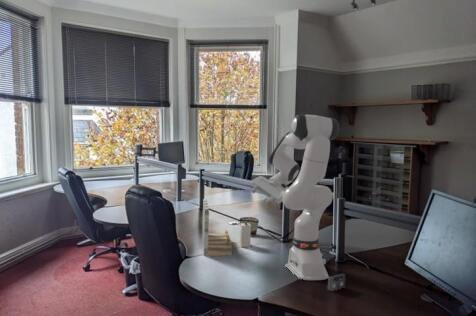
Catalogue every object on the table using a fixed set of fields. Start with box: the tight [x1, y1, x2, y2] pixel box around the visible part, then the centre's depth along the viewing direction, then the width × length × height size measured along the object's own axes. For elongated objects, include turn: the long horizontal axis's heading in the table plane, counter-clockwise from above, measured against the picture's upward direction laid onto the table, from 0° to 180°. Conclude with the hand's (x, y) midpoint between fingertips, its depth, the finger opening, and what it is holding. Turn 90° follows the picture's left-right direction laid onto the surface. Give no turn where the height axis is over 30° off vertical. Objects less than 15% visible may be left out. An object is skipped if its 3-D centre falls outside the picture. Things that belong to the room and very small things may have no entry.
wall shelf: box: [202, 198, 233, 257], centre depth 197 cm, size 24×14×24 cm, turn 7°
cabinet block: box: [239, 221, 252, 248], centre depth 202 cm, size 5×5×14 cm
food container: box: [238, 216, 260, 237], centre depth 224 cm, size 12×6×10 cm, turn 74°
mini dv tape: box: [326, 273, 347, 292], centre depth 152 cm, size 8×2×6 cm, turn 118°
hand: (258, 196), depth 198 cm, fingers open, 8 cm apart
